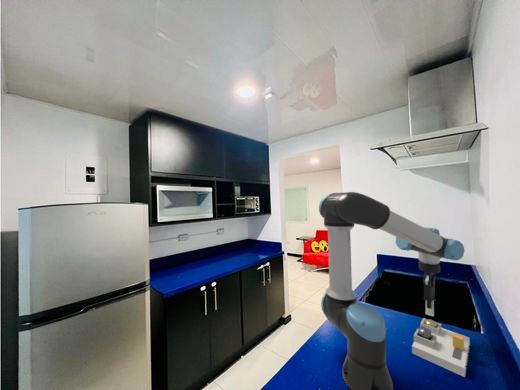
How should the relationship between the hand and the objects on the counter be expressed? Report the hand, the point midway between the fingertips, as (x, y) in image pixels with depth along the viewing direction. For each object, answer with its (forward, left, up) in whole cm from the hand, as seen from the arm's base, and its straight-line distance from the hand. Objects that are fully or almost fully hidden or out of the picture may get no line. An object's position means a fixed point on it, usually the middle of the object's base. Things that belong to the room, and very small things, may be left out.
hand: (429, 314), depth 93 cm
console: (-7, -5, -10) cm, 13 cm away
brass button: (0, 0, -6) cm, 6 cm away
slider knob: (-6, -10, -6) cm, 13 cm away
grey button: (-12, 0, -5) cm, 13 cm away
